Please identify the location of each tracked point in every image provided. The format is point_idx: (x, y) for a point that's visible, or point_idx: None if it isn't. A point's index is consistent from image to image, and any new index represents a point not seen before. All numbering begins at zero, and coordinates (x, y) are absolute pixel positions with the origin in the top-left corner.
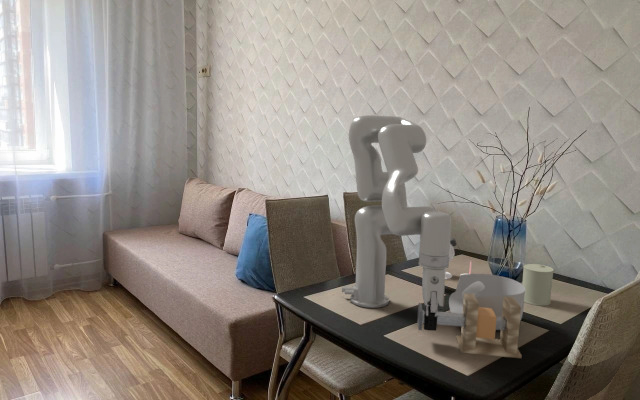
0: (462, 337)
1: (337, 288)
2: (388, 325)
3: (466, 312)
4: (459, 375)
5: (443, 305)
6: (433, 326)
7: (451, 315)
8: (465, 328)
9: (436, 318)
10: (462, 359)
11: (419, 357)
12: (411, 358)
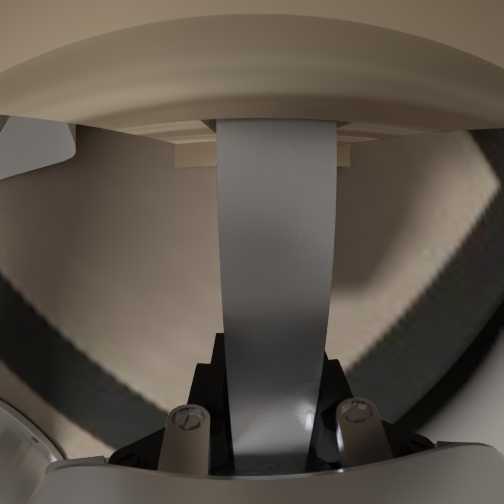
0: None
1: None
2: (149, 433)
3: (410, 117)
4: (500, 213)
5: (497, 450)
6: (339, 365)
7: (306, 277)
8: (348, 134)
9: (334, 385)
10: (407, 173)
11: (401, 346)
12: (406, 368)
